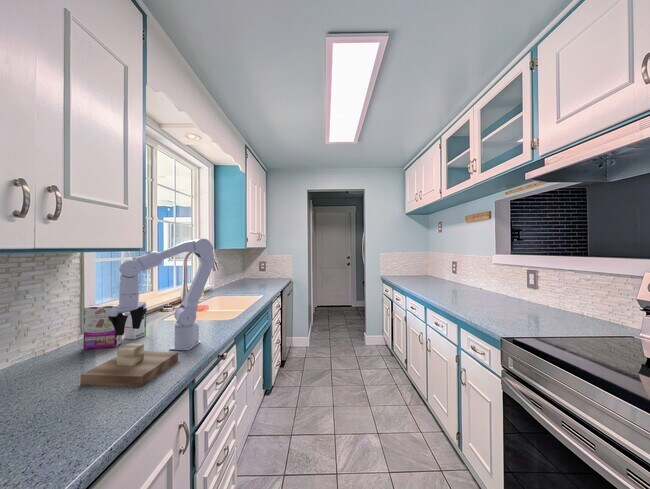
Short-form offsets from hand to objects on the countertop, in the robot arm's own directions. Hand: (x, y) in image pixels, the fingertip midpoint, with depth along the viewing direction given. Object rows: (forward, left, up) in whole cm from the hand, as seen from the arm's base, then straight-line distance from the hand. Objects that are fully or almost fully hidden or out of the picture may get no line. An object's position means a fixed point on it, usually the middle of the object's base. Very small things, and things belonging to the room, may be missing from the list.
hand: (128, 331), depth 97 cm
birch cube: (+10, +9, -6) cm, 15 cm away
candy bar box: (-10, -18, -10) cm, 23 cm away
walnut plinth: (+10, +10, -9) cm, 17 cm away
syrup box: (-22, -14, -10) cm, 28 cm away
